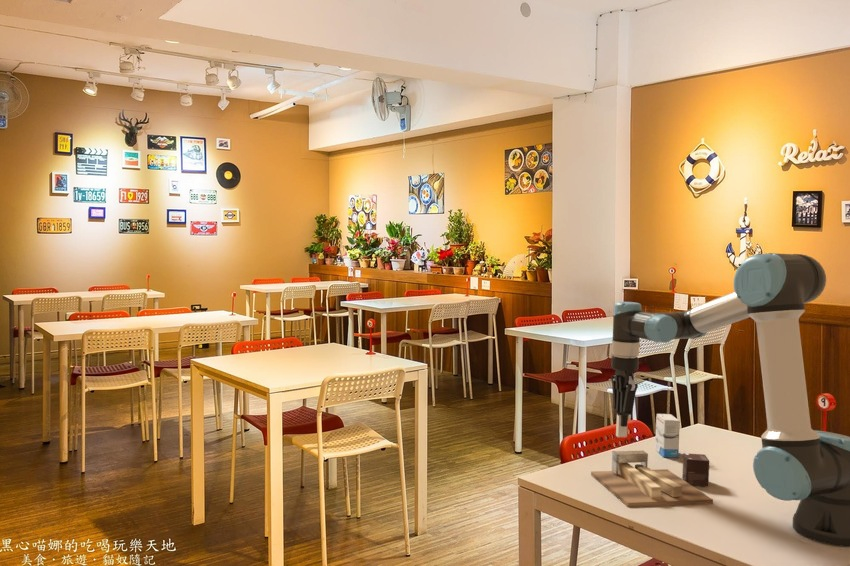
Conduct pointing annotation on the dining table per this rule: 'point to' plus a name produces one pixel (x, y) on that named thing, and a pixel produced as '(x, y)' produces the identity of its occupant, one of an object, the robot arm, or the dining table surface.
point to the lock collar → (628, 458)
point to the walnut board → (637, 498)
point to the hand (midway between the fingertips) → (621, 436)
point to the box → (696, 469)
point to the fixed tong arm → (640, 480)
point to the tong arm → (661, 481)
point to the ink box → (667, 435)
